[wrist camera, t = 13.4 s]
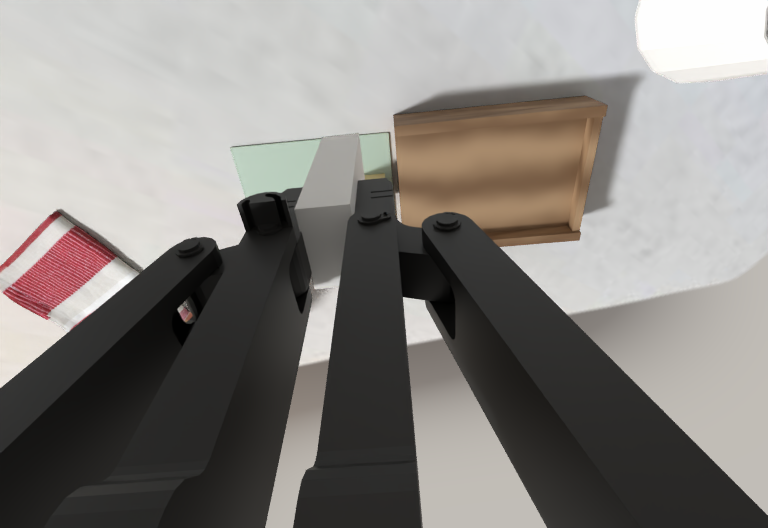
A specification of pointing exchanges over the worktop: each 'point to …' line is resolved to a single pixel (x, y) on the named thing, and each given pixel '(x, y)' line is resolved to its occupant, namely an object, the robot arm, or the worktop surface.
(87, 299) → the dish towel
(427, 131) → the wooden tray
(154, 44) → the worktop surface
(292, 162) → the cover plate
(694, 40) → the white ceramic vase
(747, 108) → the worktop surface
